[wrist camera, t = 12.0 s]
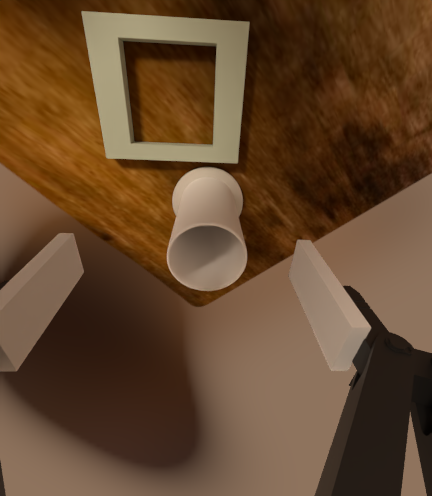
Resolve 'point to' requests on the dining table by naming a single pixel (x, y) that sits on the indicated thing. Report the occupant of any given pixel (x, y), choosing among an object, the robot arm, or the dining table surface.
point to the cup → (207, 237)
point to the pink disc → (208, 172)
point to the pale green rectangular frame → (170, 32)
